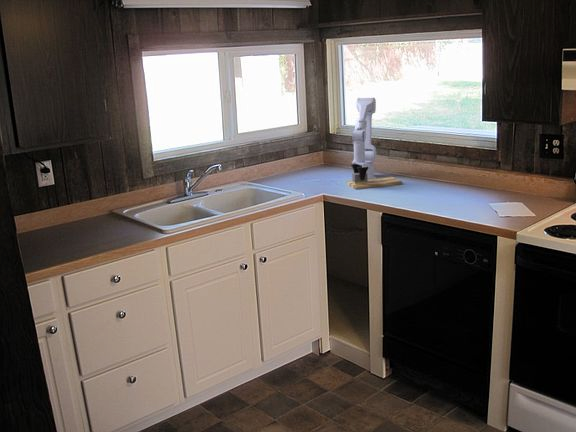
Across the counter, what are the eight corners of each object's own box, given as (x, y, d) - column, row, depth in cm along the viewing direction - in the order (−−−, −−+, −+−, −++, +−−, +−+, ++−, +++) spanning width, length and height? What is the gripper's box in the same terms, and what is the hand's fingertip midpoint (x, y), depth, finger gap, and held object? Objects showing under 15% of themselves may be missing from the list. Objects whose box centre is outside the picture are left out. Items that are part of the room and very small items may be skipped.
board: (346, 184, 337) (346, 181, 336) (391, 179, 343) (391, 176, 342) (355, 189, 324) (355, 186, 323) (402, 184, 329) (402, 181, 329)
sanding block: (352, 182, 332) (352, 173, 331) (364, 181, 334) (364, 172, 332) (355, 184, 328) (354, 174, 327) (367, 182, 330) (367, 173, 329)
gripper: (347, 151, 333) (348, 176, 336) (356, 155, 319) (357, 181, 323) (360, 150, 334) (360, 175, 338) (369, 154, 321) (370, 180, 324)
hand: (359, 178), depth 330 cm, fingers open, 7 cm apart
